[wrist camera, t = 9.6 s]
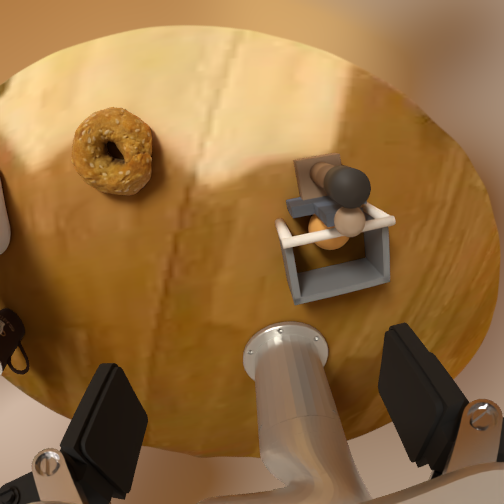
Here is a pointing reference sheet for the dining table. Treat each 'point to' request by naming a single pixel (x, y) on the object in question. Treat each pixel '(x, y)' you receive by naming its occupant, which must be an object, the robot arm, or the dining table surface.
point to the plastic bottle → (3, 224)
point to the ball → (328, 244)
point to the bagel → (101, 162)
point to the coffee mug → (10, 339)
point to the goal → (343, 274)
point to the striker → (331, 193)
